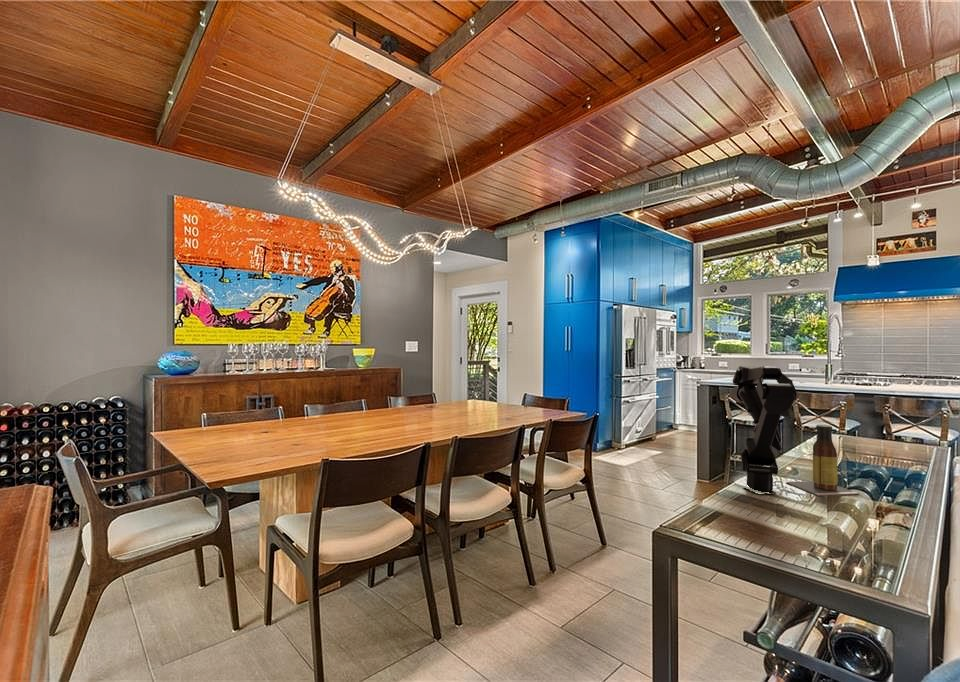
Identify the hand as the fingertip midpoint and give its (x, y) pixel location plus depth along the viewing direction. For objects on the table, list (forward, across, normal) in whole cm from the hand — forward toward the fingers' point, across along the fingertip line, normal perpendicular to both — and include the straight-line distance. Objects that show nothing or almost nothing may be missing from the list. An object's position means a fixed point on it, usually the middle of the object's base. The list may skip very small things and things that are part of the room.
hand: (779, 445), depth 148 cm
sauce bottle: (+17, +1, -5) cm, 17 cm away
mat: (+16, 0, -4) cm, 17 cm away
